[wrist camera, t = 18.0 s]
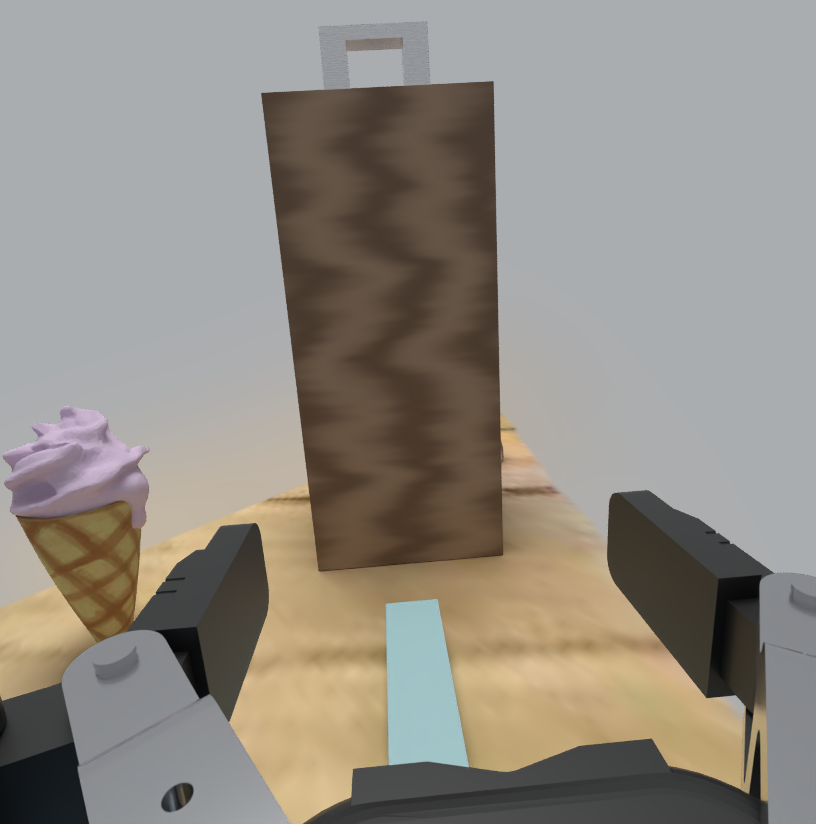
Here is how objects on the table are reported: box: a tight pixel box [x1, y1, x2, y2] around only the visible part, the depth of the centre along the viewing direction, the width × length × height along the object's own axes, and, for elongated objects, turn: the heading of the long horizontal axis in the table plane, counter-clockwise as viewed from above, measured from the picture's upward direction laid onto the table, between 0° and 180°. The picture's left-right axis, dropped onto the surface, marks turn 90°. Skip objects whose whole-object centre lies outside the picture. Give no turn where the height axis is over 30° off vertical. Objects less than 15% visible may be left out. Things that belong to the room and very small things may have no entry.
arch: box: [319, 22, 430, 90], centre depth 32 cm, size 7×2×4 cm, turn 93°
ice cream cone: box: [2, 406, 149, 643], centre depth 29 cm, size 7×6×15 cm
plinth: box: [261, 81, 503, 571], centre depth 40 cm, size 14×12×32 cm
